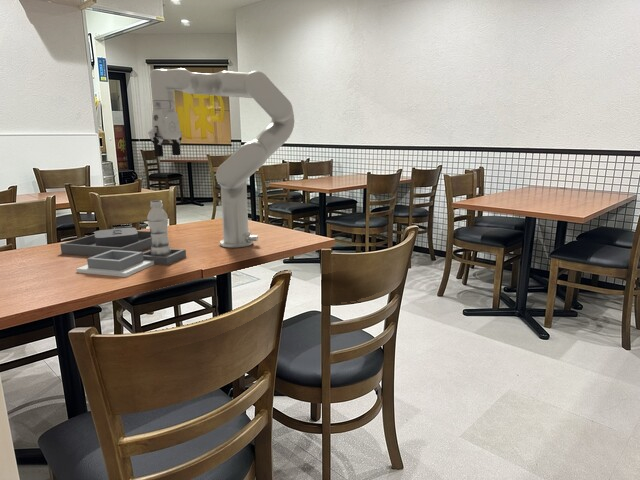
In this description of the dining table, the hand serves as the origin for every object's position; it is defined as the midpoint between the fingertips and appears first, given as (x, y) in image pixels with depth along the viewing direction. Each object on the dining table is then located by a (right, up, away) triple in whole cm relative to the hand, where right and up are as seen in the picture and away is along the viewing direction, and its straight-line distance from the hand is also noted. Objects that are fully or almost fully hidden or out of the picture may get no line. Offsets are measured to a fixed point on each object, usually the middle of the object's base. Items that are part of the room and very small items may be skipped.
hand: (168, 155), depth 161 cm
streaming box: (-21, -33, +6) cm, 40 cm away
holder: (+2, -37, -11) cm, 39 cm away
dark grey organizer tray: (-21, -33, +6) cm, 40 cm away
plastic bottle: (+2, -37, -11) cm, 39 cm away
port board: (-9, -40, -20) cm, 45 cm away
